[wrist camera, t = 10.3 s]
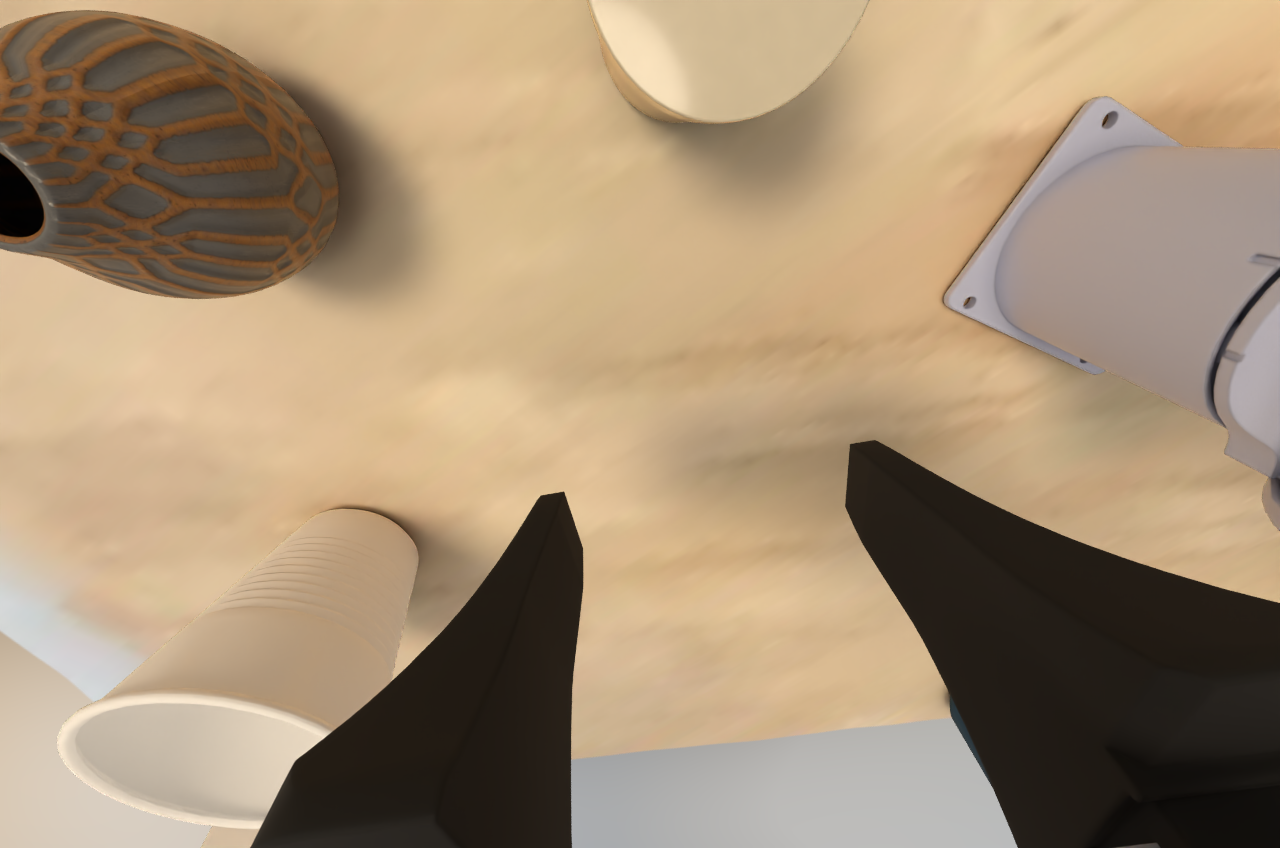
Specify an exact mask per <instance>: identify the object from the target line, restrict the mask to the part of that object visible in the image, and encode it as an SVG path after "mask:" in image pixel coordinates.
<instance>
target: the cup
mask: <svg viewBox="0 0 1280 848" xmlns="http://www.w3.org/2000/svg"><path fill="white" fill-rule="evenodd" d="M418 561H419V556H418V551H417V548H416V546H415V544H414V542H413V540H412V539H411V538H410V536H409V535H408V534H407V533H406V532H405V531H404V530H403V529H402V528H401V527H400V526H399V525H397V524H396V523H394V522H393V521H391V520H390V519H388V518H386V517H383V516H381V515H379V514H376V513H373V512H370V511H364V510H359V509H335V510H329V511H325V512H321V513H319V514H317V515H315V516H313V517H311V518H310V519H309V520H307V521H306V522H305V523H304V524H303V525H302V526H300V527H299V528H298V529H297V530H296V531H295V532H293V533H292V534H291V535H290V536H289V537H288V538H287V539H285V540H284V541H283V542H282V543H281V544H280V545H279V546H277V547H276V548H275V549H274V550H273V551H272V552H271V553H269V554H268V555H267V556H266V557H265V558H264V559H263V560H261V561H260V562H259V563H258V564H257V565H256V566H255V567H253V568H252V569H251V570H250V571H249V572H248V573H246V574H245V575H244V576H243V577H242V578H241V579H240V580H238V581H237V582H236V583H235V584H234V585H233V586H232V587H230V588H229V589H228V590H227V591H226V592H225V593H224V594H222V595H221V596H220V597H219V598H218V599H217V600H215V601H214V602H213V603H212V604H211V605H210V606H208V607H207V608H206V609H205V610H204V611H203V612H202V613H200V614H199V615H198V616H197V617H196V618H195V619H193V620H192V621H191V622H190V623H189V624H188V625H186V626H185V627H184V628H183V629H182V630H181V631H179V632H178V633H177V634H176V635H175V636H174V637H172V638H171V639H170V640H169V641H168V642H167V643H166V644H164V645H163V646H162V647H161V648H160V649H159V650H157V651H156V652H155V653H154V654H153V655H152V656H151V657H149V658H148V659H147V660H146V661H145V662H144V663H143V664H141V665H140V666H139V667H138V668H137V669H136V670H134V671H133V672H132V673H131V674H130V675H129V676H128V677H126V678H125V679H124V680H123V681H122V682H121V683H119V684H118V685H117V686H116V687H115V688H114V689H113V690H111V691H110V692H109V693H108V694H107V695H106V696H104V697H103V698H102V699H100V700H98V701H96V702H93V703H91V704H89V705H87V706H85V707H83V708H81V709H79V710H78V711H77V712H75V713H74V714H73V715H72V716H71V717H70V718H69V719H68V720H66V721H65V723H64V724H63V726H62V728H61V730H60V733H59V735H58V737H57V745H58V753H59V755H60V756H61V758H62V760H63V761H64V763H65V765H66V766H67V768H68V769H69V770H70V771H71V772H73V773H74V774H75V775H76V776H77V777H78V778H79V779H80V780H81V781H83V782H84V783H86V784H87V785H89V786H91V787H92V788H94V789H95V790H97V791H98V792H100V793H102V794H104V795H106V796H108V797H111V798H113V799H115V800H117V801H119V802H121V803H124V804H126V805H129V806H132V807H134V808H137V809H140V810H143V811H146V812H149V813H153V814H156V815H160V816H164V817H167V818H171V819H176V820H180V821H186V822H191V823H196V824H202V825H209V826H217V827H225V828H241V829H260V827H261V825H262V823H263V822H264V820H265V818H266V816H267V814H268V812H269V810H270V808H271V806H272V804H273V802H274V800H275V798H276V796H277V794H278V792H279V790H280V788H281V786H282V784H283V782H284V780H285V778H286V777H287V775H288V773H289V771H290V769H291V767H292V765H293V764H294V762H295V760H297V759H298V758H299V757H301V756H302V755H303V754H305V753H306V752H307V751H308V750H310V749H311V748H312V747H313V746H315V745H316V744H317V743H319V742H320V741H321V740H322V739H324V738H325V737H326V736H327V735H329V734H330V733H331V732H332V731H334V730H335V729H336V728H337V727H339V726H340V725H341V724H342V723H344V722H345V721H346V720H348V719H349V718H350V717H351V716H352V715H354V714H355V713H356V712H357V711H358V710H360V709H361V708H362V707H363V706H364V705H365V704H367V703H368V702H369V701H370V700H371V699H372V698H373V697H375V696H376V695H377V694H378V693H379V692H380V691H381V690H383V689H384V688H385V687H386V686H387V685H388V684H389V683H390V682H391V680H392V676H393V670H394V668H395V661H396V658H397V652H398V649H399V645H400V640H401V637H402V631H403V629H404V622H405V620H406V614H407V611H408V605H409V602H410V597H411V594H412V590H413V585H414V581H415V577H416V572H417V568H418Z"/></svg>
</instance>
